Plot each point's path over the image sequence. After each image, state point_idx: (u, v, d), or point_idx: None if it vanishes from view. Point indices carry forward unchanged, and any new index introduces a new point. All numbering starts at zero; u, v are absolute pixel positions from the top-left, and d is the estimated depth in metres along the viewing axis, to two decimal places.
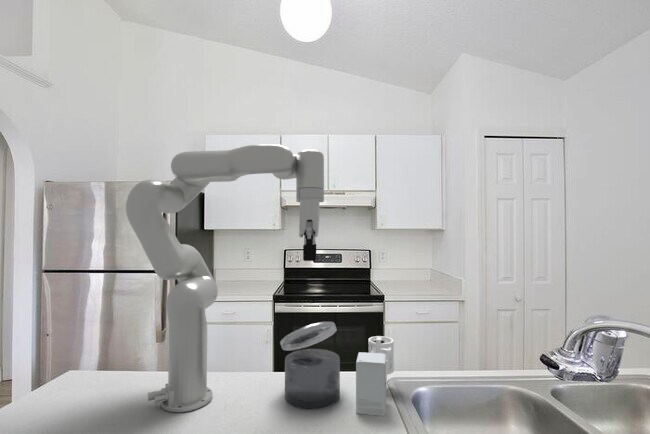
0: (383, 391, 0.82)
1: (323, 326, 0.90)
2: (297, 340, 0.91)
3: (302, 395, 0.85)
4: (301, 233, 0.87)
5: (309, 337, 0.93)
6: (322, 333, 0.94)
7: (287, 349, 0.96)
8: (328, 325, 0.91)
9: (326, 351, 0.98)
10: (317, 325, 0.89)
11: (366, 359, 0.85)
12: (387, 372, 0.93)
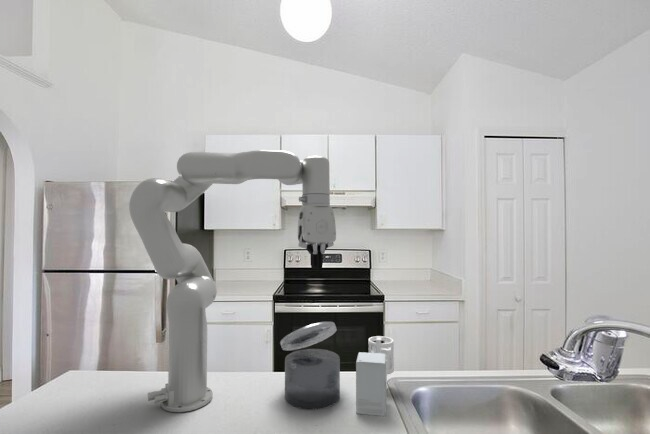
0: (383, 391, 0.82)
1: (323, 326, 0.90)
2: (297, 340, 0.91)
3: (302, 395, 0.85)
4: None
5: (309, 337, 0.93)
6: (322, 333, 0.94)
7: (287, 349, 0.96)
8: (328, 325, 0.91)
9: (326, 351, 0.98)
10: (317, 325, 0.89)
11: (366, 359, 0.85)
12: (387, 372, 0.93)
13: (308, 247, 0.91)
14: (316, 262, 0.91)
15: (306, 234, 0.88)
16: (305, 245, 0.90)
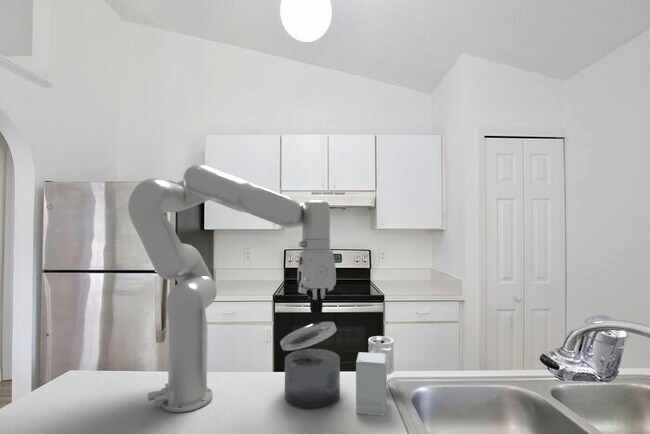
0: (383, 391, 0.82)
1: (323, 326, 0.90)
2: (297, 340, 0.91)
3: (302, 395, 0.85)
4: None
5: (309, 337, 0.93)
6: (322, 333, 0.94)
7: (287, 349, 0.96)
8: (328, 325, 0.91)
9: (326, 351, 0.98)
10: (317, 325, 0.89)
11: (366, 359, 0.85)
12: (387, 372, 0.93)
13: (308, 293, 0.90)
14: (316, 307, 0.91)
15: (306, 281, 0.88)
16: (305, 291, 0.90)
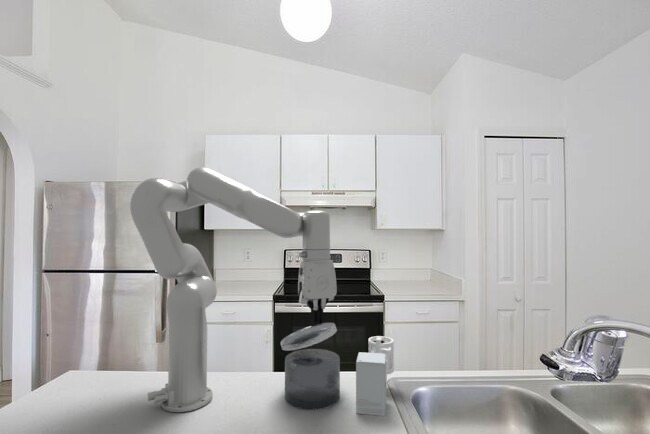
0: (383, 391, 0.82)
1: (323, 327, 0.89)
2: (297, 341, 0.91)
3: (302, 395, 0.85)
4: None
5: (309, 338, 0.93)
6: (322, 334, 0.94)
7: (287, 349, 0.96)
8: (328, 326, 0.91)
9: (326, 351, 0.98)
10: (317, 326, 0.89)
11: (366, 359, 0.85)
12: (387, 372, 0.93)
13: (308, 303, 0.90)
14: (317, 318, 0.90)
15: (306, 292, 0.88)
16: (305, 301, 0.89)
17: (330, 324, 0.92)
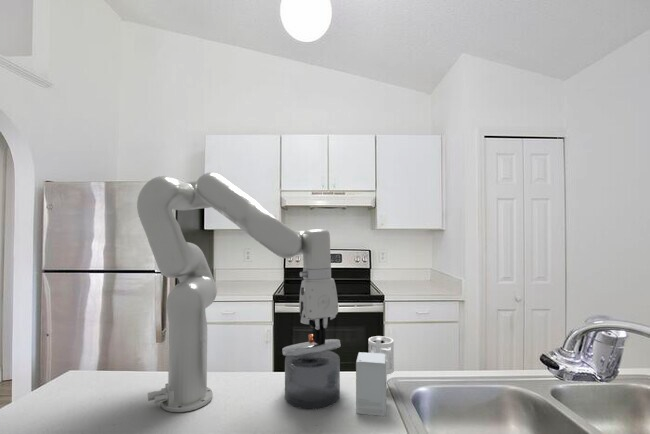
0: (383, 391, 0.82)
1: (328, 349, 0.87)
2: None
3: (302, 395, 0.85)
4: None
5: None
6: None
7: None
8: (333, 347, 0.89)
9: (326, 351, 0.98)
10: (323, 348, 0.87)
11: (366, 359, 0.85)
12: (387, 372, 0.93)
13: (310, 323, 0.89)
14: (319, 337, 0.90)
15: (308, 312, 0.87)
16: (307, 321, 0.89)
17: (335, 344, 0.89)
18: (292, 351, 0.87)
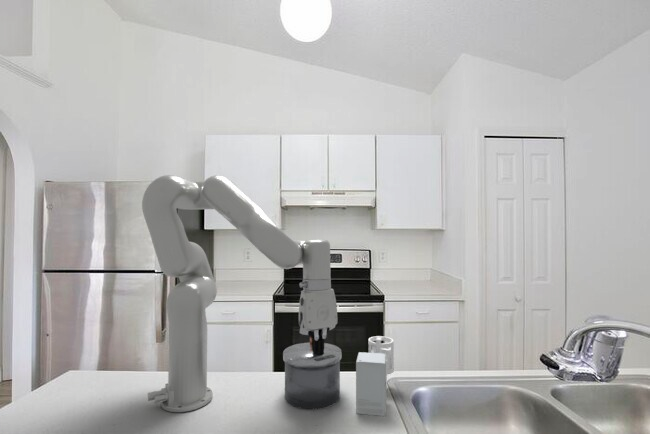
0: (383, 391, 0.82)
1: (330, 364, 0.87)
2: None
3: (302, 395, 0.85)
4: None
5: None
6: None
7: None
8: (335, 362, 0.88)
9: None
10: (324, 363, 0.86)
11: (366, 359, 0.85)
12: (387, 372, 0.93)
13: (309, 334, 0.89)
14: (317, 348, 0.90)
15: (307, 323, 0.87)
16: (306, 332, 0.89)
17: (337, 358, 0.89)
18: (293, 361, 0.87)
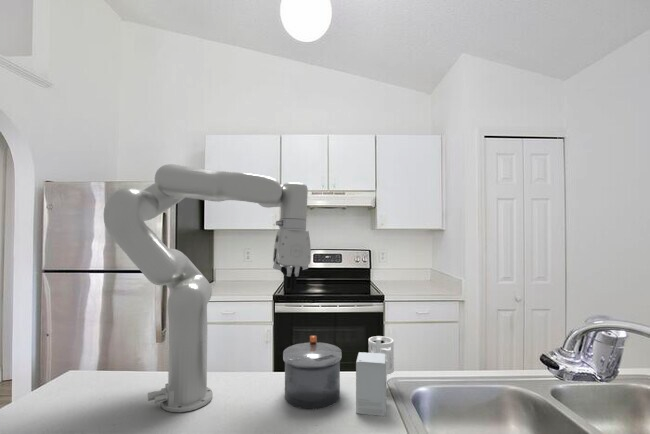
0: (383, 391, 0.82)
1: (330, 364, 0.87)
2: None
3: (302, 395, 0.85)
4: None
5: None
6: None
7: None
8: (335, 362, 0.88)
9: None
10: (324, 363, 0.86)
11: (366, 359, 0.85)
12: (387, 372, 0.93)
13: (282, 269, 0.94)
14: (289, 284, 0.95)
15: (280, 257, 0.92)
16: (279, 267, 0.94)
17: (337, 358, 0.89)
18: (293, 361, 0.87)
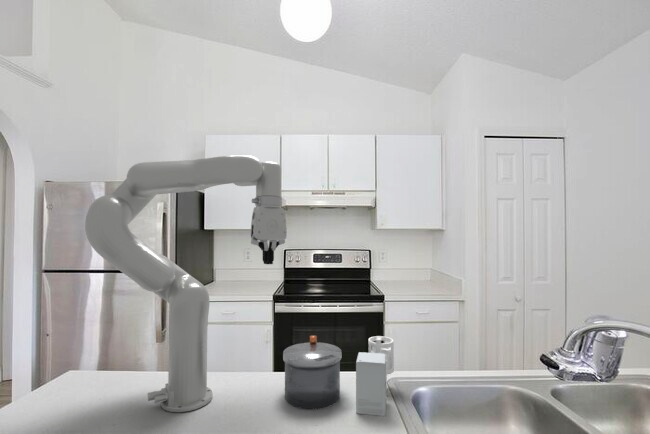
0: (383, 391, 0.82)
1: (330, 364, 0.87)
2: None
3: (302, 395, 0.85)
4: None
5: None
6: None
7: None
8: (335, 362, 0.88)
9: None
10: (324, 363, 0.86)
11: (366, 359, 0.85)
12: (387, 372, 0.93)
13: (259, 244, 1.00)
14: (267, 258, 1.01)
15: (257, 232, 0.98)
16: (257, 242, 1.00)
17: (337, 358, 0.89)
18: (293, 361, 0.87)
